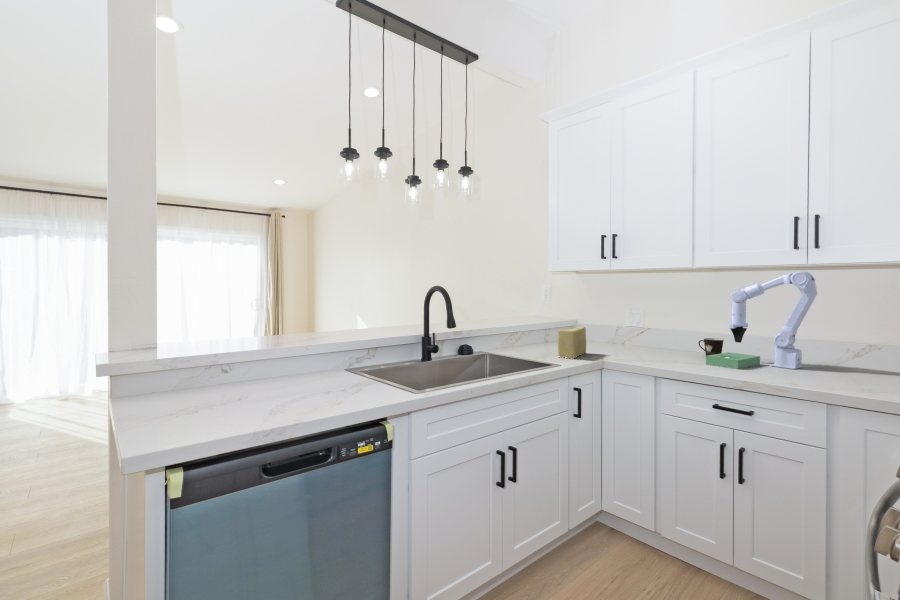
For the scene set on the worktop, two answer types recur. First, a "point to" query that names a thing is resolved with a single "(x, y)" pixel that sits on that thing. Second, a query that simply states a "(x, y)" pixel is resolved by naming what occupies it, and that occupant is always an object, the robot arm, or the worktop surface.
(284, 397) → the worktop surface
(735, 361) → the practice green
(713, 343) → the coffee mug
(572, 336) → the cheese
